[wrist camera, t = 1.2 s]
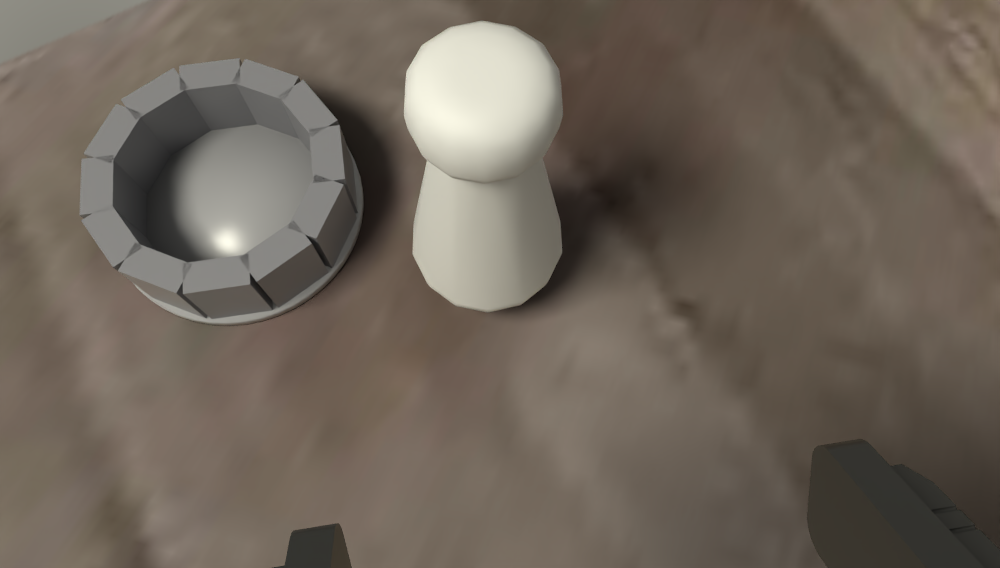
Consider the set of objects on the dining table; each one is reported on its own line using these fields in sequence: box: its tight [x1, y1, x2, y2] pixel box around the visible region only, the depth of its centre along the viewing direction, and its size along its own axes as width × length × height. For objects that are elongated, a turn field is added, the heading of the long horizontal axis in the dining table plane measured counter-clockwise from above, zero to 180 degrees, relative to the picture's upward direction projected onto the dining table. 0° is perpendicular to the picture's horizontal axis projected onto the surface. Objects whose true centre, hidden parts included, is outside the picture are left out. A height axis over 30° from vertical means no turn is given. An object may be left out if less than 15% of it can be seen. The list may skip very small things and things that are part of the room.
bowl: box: [80, 58, 364, 326], centre depth 31 cm, size 10×10×4 cm
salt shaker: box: [404, 21, 563, 312], centre depth 25 cm, size 6×6×13 cm
